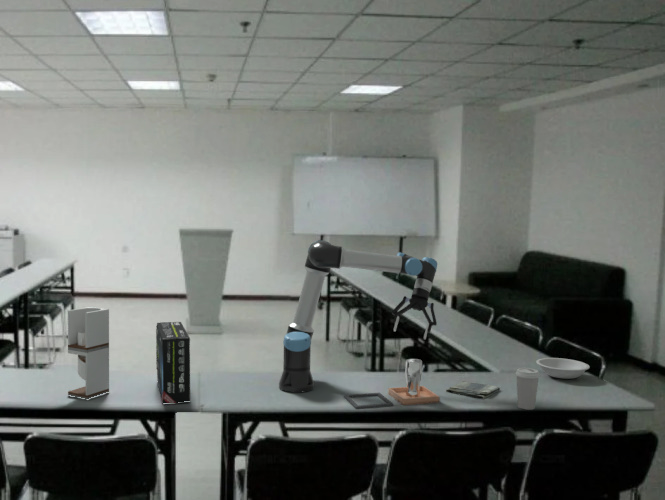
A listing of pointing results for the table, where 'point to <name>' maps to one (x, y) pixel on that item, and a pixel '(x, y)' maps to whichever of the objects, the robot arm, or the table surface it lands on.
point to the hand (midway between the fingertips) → (409, 334)
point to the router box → (173, 362)
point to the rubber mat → (388, 403)
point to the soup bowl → (562, 367)
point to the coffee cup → (527, 387)
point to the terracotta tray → (424, 398)
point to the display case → (90, 349)
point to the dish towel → (473, 389)
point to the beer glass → (413, 377)
